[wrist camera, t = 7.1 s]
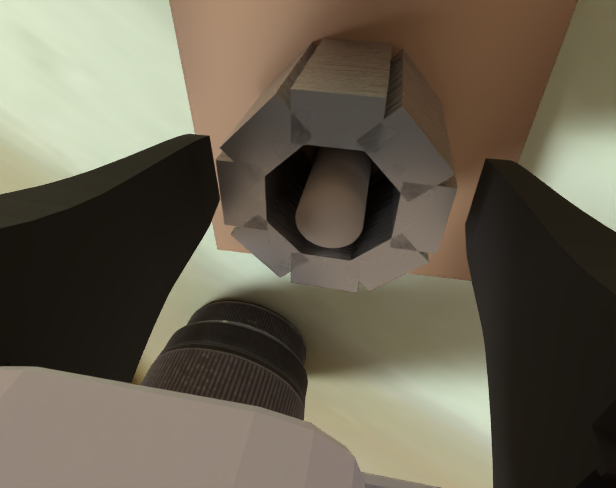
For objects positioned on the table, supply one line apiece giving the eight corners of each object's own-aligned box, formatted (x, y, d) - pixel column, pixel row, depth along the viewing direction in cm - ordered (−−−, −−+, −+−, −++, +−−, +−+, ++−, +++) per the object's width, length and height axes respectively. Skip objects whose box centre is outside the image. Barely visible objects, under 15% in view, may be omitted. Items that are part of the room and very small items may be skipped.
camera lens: (152, 291, 21) (-134, 723, 10) (297, 287, 19) (127, 850, 8) (210, 377, 26) (59, 734, 15) (331, 383, 24) (258, 814, 13)
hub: (459, 47, 10) (483, 106, 7) (418, 214, 14) (421, 302, 10) (261, 32, 11) (204, 80, 8) (268, 195, 14) (231, 273, 11)
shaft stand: (575, -59, 10) (704, -34, 5) (469, 254, 16) (491, 375, 12) (183, -62, 11) (49, -45, 7) (229, 227, 17) (174, 326, 13)
